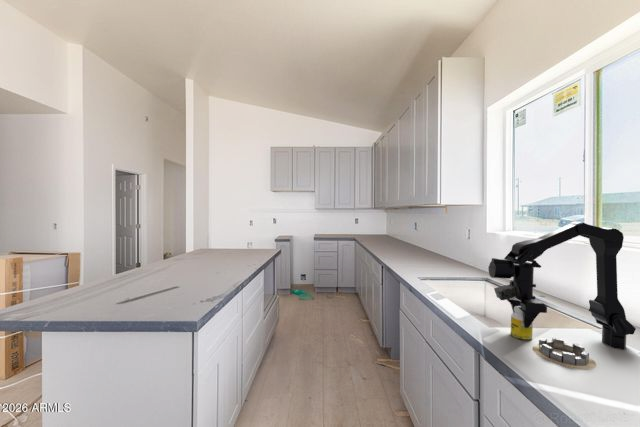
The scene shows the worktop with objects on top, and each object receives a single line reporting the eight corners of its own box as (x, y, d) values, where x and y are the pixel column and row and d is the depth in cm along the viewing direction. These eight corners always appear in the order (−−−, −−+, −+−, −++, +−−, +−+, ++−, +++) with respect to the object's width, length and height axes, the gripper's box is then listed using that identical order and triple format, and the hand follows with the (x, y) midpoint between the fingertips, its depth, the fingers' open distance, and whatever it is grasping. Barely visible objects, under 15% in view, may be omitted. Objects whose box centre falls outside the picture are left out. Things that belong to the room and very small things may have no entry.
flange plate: (527, 343, 99) (527, 340, 99) (584, 353, 93) (585, 350, 93) (538, 364, 86) (538, 361, 86) (606, 378, 79) (606, 374, 79)
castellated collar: (535, 343, 97) (535, 334, 97) (579, 351, 92) (580, 342, 92) (544, 359, 86) (544, 349, 86) (594, 369, 82) (595, 359, 81)
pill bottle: (507, 334, 106) (508, 304, 105) (526, 336, 104) (527, 305, 104) (515, 342, 100) (516, 310, 99) (535, 344, 98) (536, 312, 98)
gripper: (487, 272, 112) (486, 312, 113) (509, 284, 94) (508, 332, 94) (519, 273, 110) (518, 314, 111) (548, 287, 92) (547, 336, 92)
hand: (521, 323), depth 102 cm, fingers closed on pill bottle, 6 cm apart
